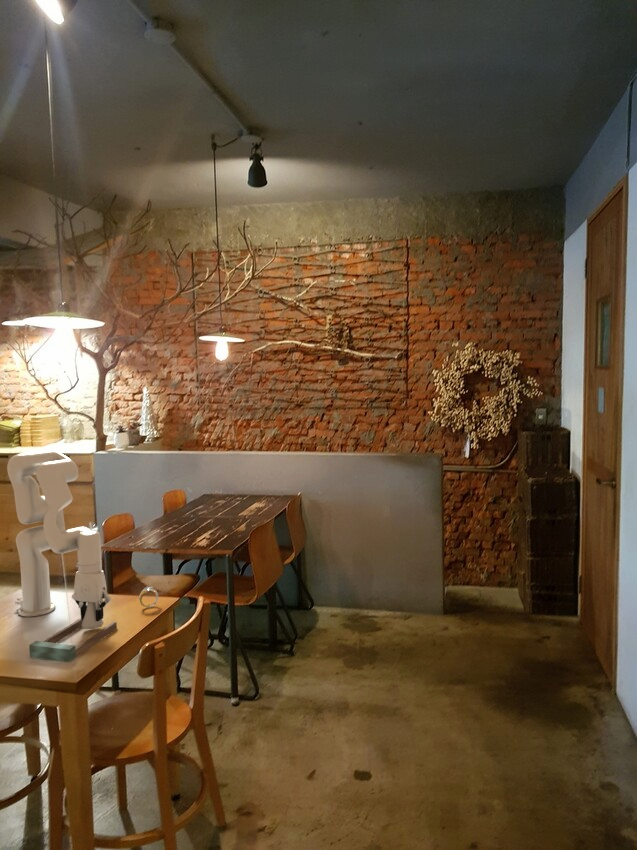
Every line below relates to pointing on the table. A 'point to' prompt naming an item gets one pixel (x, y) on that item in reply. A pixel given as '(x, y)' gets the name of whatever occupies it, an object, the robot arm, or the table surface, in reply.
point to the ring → (145, 593)
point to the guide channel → (63, 651)
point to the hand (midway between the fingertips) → (92, 618)
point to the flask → (91, 617)
